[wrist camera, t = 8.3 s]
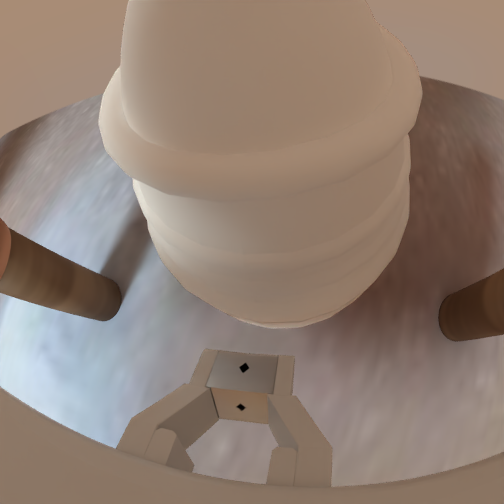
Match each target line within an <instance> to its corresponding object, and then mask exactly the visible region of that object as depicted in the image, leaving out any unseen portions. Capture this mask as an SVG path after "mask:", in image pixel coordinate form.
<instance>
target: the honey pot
mask: <svg viewBox="0 0 504 504" xmlns="http://www.w3.org/2000/svg"><path fill="white" fill-rule="evenodd" d="M422 93H423V91H422V86H421V81H420V77H419V73H418V69H417V66H416V64H415V61H414V60H413V58H412V57H411V56H410V54H409V53H408V51H407V50H406V48H405V47H404V46H403V44H402V43H401V42H400V41H399V40H398V39H397V38H396V37H395V36H394V35H392V34H391V33H390V32H389V31H387V30H386V29H385V28H384V27H383V26H381V25H380V24H378V23H377V22H376V21H375V18H374V16H373V14H372V12H371V10H370V8H369V6H368V4H367V2H366V1H365V0H129V1H128V6H127V10H126V15H125V20H124V26H123V34H122V45H121V65H120V67H119V68H118V69H117V70H116V72H115V73H114V75H113V77H112V79H111V80H110V82H109V84H108V86H107V88H106V90H105V92H104V94H103V97H102V103H101V108H100V114H99V123H98V124H99V128H100V132H101V136H102V140H103V144H104V147H105V149H106V151H107V153H108V154H109V155H110V156H111V157H112V159H113V160H114V161H115V162H116V163H117V164H118V165H119V167H120V168H121V169H122V170H123V171H124V172H125V173H126V174H127V175H128V176H130V177H131V178H133V188H134V191H135V193H136V196H137V199H138V201H139V204H140V207H141V209H142V212H143V214H144V216H145V218H146V219H147V224H148V231H149V233H150V235H151V238H152V240H153V243H154V245H155V247H156V250H157V252H158V255H159V257H160V259H161V260H162V262H163V263H164V265H165V266H166V267H167V268H168V269H169V271H170V272H171V273H172V274H173V275H174V276H175V278H176V279H177V280H178V281H179V282H180V283H181V284H182V286H183V287H184V288H185V289H186V290H187V291H189V292H190V293H192V294H194V295H195V296H197V297H199V298H200V299H202V300H203V301H205V302H207V303H208V304H210V305H212V306H213V307H215V308H216V309H218V310H221V311H222V312H224V313H226V314H228V315H230V316H232V317H234V318H236V319H238V320H240V321H243V322H246V323H250V324H254V325H258V326H262V327H266V328H300V327H303V326H306V325H310V324H313V323H316V322H319V321H322V320H326V319H329V318H330V317H332V316H333V315H335V314H336V313H338V312H339V311H341V310H342V309H344V308H345V307H347V306H348V305H350V304H351V303H353V302H354V301H355V300H356V299H357V298H358V297H359V296H360V295H361V294H362V293H363V292H365V290H366V289H368V288H369V286H370V285H371V284H373V283H374V282H375V280H376V279H377V278H378V277H379V275H380V274H381V273H382V272H383V270H384V269H385V268H386V266H387V265H388V264H389V263H390V261H391V260H392V259H393V257H394V256H395V255H396V252H397V250H398V247H399V244H400V242H401V239H402V236H403V233H404V231H405V228H406V225H407V222H408V218H409V205H410V183H409V174H410V170H411V157H410V138H409V136H408V133H409V131H410V130H411V129H412V128H413V126H414V125H415V123H416V119H417V115H418V112H419V108H420V104H421V100H422Z"/></svg>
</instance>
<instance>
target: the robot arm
mask: <svg viewBox="0 0 504 504" xmlns="http://www.w3.org/2000/svg"><path fill="white" fill-rule="evenodd" d="M294 362H295V356H286V355H266V354H250V353H249V354H246V353H237V352H229V351H221V350H220V351H219V350H212V349H205V350H204V351H203V352H202V354H201V357H200V359H199V362H198V364H197V366H196V369H195V371H194V373H193V376H192V378H191V381H190V383H189V384H184V385H182V386H181V387H179V388H178V389H176V390H175V391H173V392H172V393H170V394H169V395H167V396H166V397H164V398H163V399H161V400H159V401H158V402H156V403H155V404H153V405H152V406H150V407H149V408H147V409H145V410H144V411H142V412H141V413H139V414H137V415H136V416H134V417H132V418H131V420H130V422H129V424H128V426H127V428H126V430H125V432H124V434H123V436H122V438H121V439H120V441H119V443H118V445H117V447H116V449H115V448H112V447H110V446H107V445H105V444H102V443H100V442H98V441H95V440H93V439H91V438H89V437H86V436H84V435H82V434H80V433H78V432H76V431H74V430H72V429H70V428H68V427H66V426H64V425H62V424H60V423H58V422H56V421H54V420H53V419H51V418H49V417H47V416H45V415H44V414H42V413H40V412H39V411H37V410H35V409H34V408H32V407H30V406H29V405H27V404H25V403H24V402H22V401H21V400H19V399H18V398H16V397H15V396H13V395H12V394H10V393H9V392H7V391H6V390H4V389H3V388H2V387H0V504H504V452H502V453H500V454H497V455H494V456H492V457H489V458H486V459H484V460H481V461H478V462H475V463H472V464H469V465H465V466H462V467H459V468H455V469H451V470H448V471H444V472H440V473H436V474H431V475H427V476H422V477H417V478H412V479H406V480H400V481H394V482H386V483H378V484H369V485H357V486H339V487H331V476H332V447H331V445H330V444H329V442H328V441H327V440H326V438H325V437H324V435H323V434H322V433H321V431H320V430H319V428H318V427H317V425H316V424H315V423H314V421H313V420H312V418H311V417H310V416H309V414H308V413H307V411H306V410H305V408H304V407H303V405H302V404H301V402H300V401H299V400H298V398H297V397H296V396H292V393H293V378H294ZM218 418H219V419H227V420H236V421H245V422H253V423H261V424H269V427H270V429H271V431H272V433H273V435H274V437H275V439H276V441H277V443H278V445H279V447H277V448H275V449H274V450H272V455H271V461H270V466H269V472H268V477H267V482H266V484H257V483H248V482H241V481H234V480H228V479H222V478H216V477H211V476H206V475H201V474H197V473H192V471H193V467H194V464H193V462H192V461H191V459H190V457H189V456H188V454H187V452H186V451H185V450H186V449H187V448H188V447H189V446H190V445H192V444H193V443H194V442H195V441H196V440H197V439H198V438H200V437H201V436H202V435H203V434H204V433H205V432H206V431H207V430H208V429H209V428H211V427H212V426H213V425H214V424H215V423H216V422H217V421H218V420H219V419H218Z"/></svg>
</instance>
